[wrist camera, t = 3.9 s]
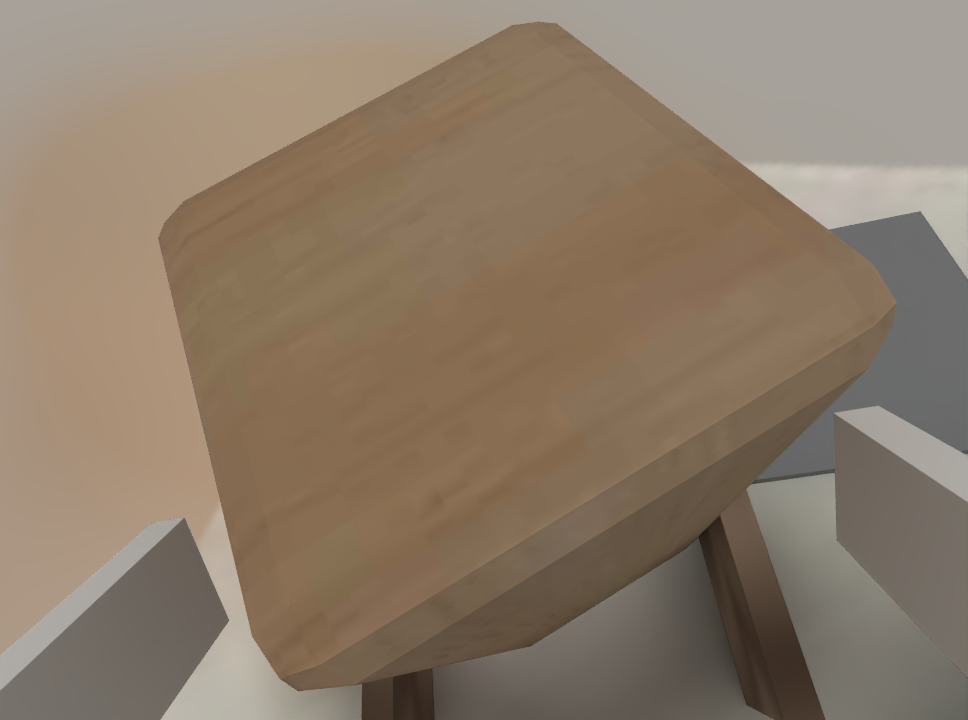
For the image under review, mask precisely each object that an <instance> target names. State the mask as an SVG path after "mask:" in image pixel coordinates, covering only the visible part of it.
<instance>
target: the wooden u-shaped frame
mask: <svg viewBox="0 0 968 720" xmlns="http://www.w3.org/2000/svg"><path fill="white" fill-rule="evenodd" d="M699 539H700V543H701V546H702V550H703V553H704V557H705V560H706V564H707V567H708V571H709V574H710V578H711V581H712V585H713V588H714V592H715V595H716V599H717V602H718V606H719V609H720V613H721V616H722V620H723V623H724V627H725V630H726V634H727V637H728V641H729V644H730V648H731V651H732V655H733V658H734V661H735V665H736V668H737V672H738V675H739V679H740V682H741V686H742V689H743V693H744V696H745V700H746V703H747V705H748V706H750V707H752V708H754V709H755V710H757V711H759V712H761V713H763V714H765V715H767V716H769V717H771V718H773V719H774V720H825V717H824V714H823V711H822V709H821V706H820V703H819V700H818V697H817V694H816V691H815V688H814V685H813V682H812V679H811V677H810V674H809V671H808V668H807V665H806V662H805V659H804V656H803V653H802V650H801V648H800V645H799V642H798V639H797V636H796V633H795V630H794V627H793V624H792V621H791V619H790V616H789V613H788V610H787V607H786V604H785V601H784V598H783V595H782V592H781V590H780V587H779V584H778V581H777V578H776V575H775V572H774V569H773V566H772V563H771V561H770V558H769V555H768V552H767V549H766V546H765V543H764V540H763V537H762V534H761V532H760V529H759V526H758V523H757V520H756V517H755V514H754V511H753V508H752V505H751V503H750V500H749V497H748V494H747V491H746V490H745V491H744V492H743V493H742V494H741V495H740V496H739V497H738V498H737V499H736V500H735V501H733V502H732V503H731V504H730V505H729V506H728V507H727V508H726V509H725V510H724V511H723V512H722V513H721V514H720V515H719V516H718V517H717V518H716V519H715V520H714V521H713V522H712V523H711V524H710V525H709V526H708V527H707V528H706V529H705V530H704V531H703V532H702V533H701V534H700V535H699ZM362 720H434V706H433V680H432V668H430V669H425V670H421V671H416V672H411V673H407V674H402V675H398V676H393V677H389V678H384V679H380V680H375V681H371V682H366V683H362Z"/></svg>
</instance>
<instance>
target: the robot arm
mask: <svg viewBox="0 0 968 720" xmlns="http://www.w3.org/2000/svg"><path fill="white" fill-rule="evenodd" d="M833 415H834V453H835V492H836V531H837V541H838V542H839V543H840V544H841V545H842V546H843V547H844V548H845V549H846V550H847V551H848V552H849V553H850V555H851V556H852V557H853V558H854V559H855V560H856V561H857V562H858V563H859V564H860V565H861V566H862V567H863V568H864V569H865V570H866V571H867V572H868V574H869V575H870V576H871V577H872V578H873V579H874V580H875V581H876V582H877V583H878V584H879V585H880V586H881V587H882V588H883V589H884V590H885V592H886V593H887V594H888V595H889V596H890V597H891V598H892V599H893V600H894V601H895V602H896V603H897V604H898V605H899V606H900V607H901V608H902V609H903V611H904V612H905V613H906V614H907V615H908V616H909V617H910V618H911V619H912V620H913V621H914V622H915V623H916V624H917V625H918V626H919V627H920V629H921V630H922V631H923V632H924V633H925V634H926V635H927V636H928V637H929V638H930V639H931V640H932V641H933V642H934V643H935V644H936V645H937V646H938V648H939V649H940V650H941V651H942V652H943V653H944V654H945V655H946V656H947V657H948V658H949V659H950V660H951V661H952V662H953V663H954V664H955V666H956V667H957V668H958V669H959V670H960V671H961V672H962V673H963V674H964V675H965V676H966V677H967V678H968V456H967V455H965V454H964V453H962V452H960V451H958V450H956V449H955V448H953V447H951V446H949V445H947V444H946V443H944V442H942V441H940V440H939V439H937V438H935V437H933V436H931V435H930V434H928V433H926V432H924V431H923V430H921V429H919V428H917V427H915V426H914V425H912V424H910V423H908V422H907V421H905V420H903V419H901V418H899V417H898V416H896V415H894V414H892V413H890V412H889V411H887V410H885V409H883V408H882V407H880V406H873V407H867V408H861V409H855V410H848V411H842V412H836V413H833ZM228 621H229V619H228V617H227V614H226V612H225V610H224V607H223V605H222V603H221V601H220V598H219V596H218V594H217V591H216V589H215V587H214V585H213V582H212V580H211V578H210V575H209V573H208V571H207V568H206V566H205V564H204V562H203V559H202V557H201V555H200V552H199V550H198V548H197V545H196V543H195V541H194V539H193V536H192V534H191V532H190V529H189V527H188V525H187V523H186V520H185V518H179V519H173V520H166V521H160V522H154V523H152V524H150V525H149V526H148V527H147V528H146V529H145V530H143V531H142V532H141V533H140V534H139V535H138V536H137V537H135V538H134V539H133V540H132V541H131V542H130V543H129V544H127V545H126V546H125V547H124V548H123V549H122V550H121V551H119V552H118V553H117V554H116V555H115V556H114V557H112V558H111V559H110V560H109V561H108V562H107V563H106V564H104V565H103V566H102V567H101V568H100V569H99V570H98V571H96V573H94V574H93V575H92V576H91V577H90V578H89V579H87V580H86V581H85V582H84V583H83V584H82V585H80V586H79V587H78V588H77V589H76V590H75V591H73V592H72V593H71V594H70V595H69V596H68V597H67V598H65V599H64V600H63V601H62V602H61V603H60V604H59V605H57V606H56V607H55V608H54V609H53V610H52V611H50V612H49V613H48V614H47V615H46V616H45V617H44V618H43V619H41V620H40V621H39V622H38V623H37V624H36V625H34V626H33V627H32V628H31V629H30V630H29V631H28V632H26V633H25V634H24V635H23V636H22V637H21V638H20V639H18V640H17V641H16V642H15V643H14V644H13V645H11V647H9V648H8V649H7V650H6V651H5V652H4V653H2V654H1V655H0V720H160V719H161V718H162V716H163V715H164V713H165V712H166V711H167V709H168V708H169V706H170V705H171V703H172V702H173V700H174V699H175V698H176V696H177V695H178V693H179V692H180V690H181V689H182V688H183V686H184V685H185V683H186V682H187V680H188V679H189V677H190V676H191V675H192V673H193V672H194V670H195V669H196V667H197V666H198V665H199V663H200V662H201V660H202V659H203V657H204V656H205V654H206V653H207V652H208V650H209V649H210V647H211V646H212V644H213V643H214V641H215V640H216V639H217V637H218V636H219V634H220V633H221V631H222V630H223V629H224V627H225V626H226V624H227V623H228Z"/></svg>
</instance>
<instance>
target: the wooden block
mask: <svg viewBox="0 0 968 720" xmlns="http://www.w3.org/2000/svg"><path fill="white" fill-rule="evenodd" d="M158 239H159V244H160V248H161V252H162V256H163V260H164V265H165V269H166V273H167V277H168V281H169V286H170V290H171V294H172V298H173V303H174V307H175V311H176V315H177V320H178V324H179V328H180V332H181V337H182V341H183V345H184V349H185V353H186V358H187V362H188V366H189V370H190V375H191V379H192V383H193V387H194V392H195V396H196V400H197V404H198V408H199V413H200V417H201V421H202V425H203V430H204V434H205V438H206V442H207V447H208V451H209V455H210V459H211V464H212V468H213V472H214V476H215V481H216V485H217V489H218V493H219V497H220V502H221V506H222V510H223V514H224V519H225V523H226V527H227V531H228V536H229V540H230V544H231V548H232V552H233V557H234V561H235V565H236V569H237V574H238V578H239V582H240V586H241V591H242V595H243V599H244V603H245V607H246V612H247V616H248V620H249V624H250V629H251V633H252V637H253V638H254V640H255V641H256V643H257V644H258V646H259V648H260V649H261V651H262V652H263V654H264V655H265V657H266V658H267V660H268V661H269V663H270V664H271V666H272V668H273V669H274V671H275V672H276V674H277V675H278V677H279V678H280V679H281V680H282V681H284V682H285V683H287V684H288V685H290V686H291V687H293V688H294V689H296V690H297V691H303V690H313V689H323V688H332V687H342V686H351V685H357V684H362V683H366V682H371V681H375V680H380V679H384V678H389V677H393V676H398V675H402V674H407V673H411V672H416V671H421V670H425V669H430V668H434V667H439V666H443V665H448V664H452V663H457V662H461V661H466V660H470V659H475V658H479V657H484V656H488V655H493V654H497V653H502V652H506V651H511V650H515V649H520V648H524V647H529V646H532V645H533V644H535V643H536V642H538V641H540V640H541V639H543V638H544V637H546V636H547V635H549V634H551V633H552V632H554V631H555V630H557V629H559V628H560V627H562V626H563V625H565V624H567V623H568V622H570V621H571V620H573V619H575V618H576V617H578V616H579V615H581V614H583V613H584V612H586V611H587V610H589V609H591V608H592V607H594V606H595V605H597V604H599V603H600V602H602V601H603V600H605V599H607V598H608V597H610V596H611V595H613V594H614V593H616V592H618V591H619V590H621V589H622V588H624V587H626V586H627V585H629V584H630V583H632V582H634V581H635V580H637V579H638V578H640V577H642V576H643V575H645V574H646V573H648V572H650V571H651V570H653V569H654V568H656V567H658V566H659V565H661V564H662V563H664V562H666V561H667V560H669V559H670V558H672V557H674V556H675V555H677V554H678V553H680V552H681V551H683V550H685V549H686V548H687V547H688V546H689V545H690V544H691V543H692V542H693V541H694V540H695V539H696V538H697V537H698V536H699V535H700V534H701V533H702V532H703V531H704V530H705V529H706V528H707V527H708V526H709V525H710V524H711V523H712V522H713V521H714V520H715V519H716V518H717V517H718V516H719V515H720V514H721V513H722V512H723V511H724V510H725V509H726V508H727V507H728V506H729V505H730V504H731V503H732V502H733V501H735V500H736V499H737V498H738V497H739V496H740V495H741V494H742V493H743V492H744V491H745V490H746V489H747V488H748V487H749V486H750V485H751V484H752V483H753V482H754V481H755V480H756V479H757V478H758V477H759V476H760V475H761V474H762V473H763V472H764V471H765V470H766V469H767V468H768V467H769V466H770V465H771V464H772V463H773V462H774V461H775V460H776V459H777V458H778V457H779V456H780V455H781V454H782V453H783V452H784V451H785V450H786V449H787V448H788V447H789V446H790V445H791V444H792V443H793V442H794V441H795V440H796V439H797V438H798V437H799V436H800V435H801V434H802V433H803V432H804V431H805V430H806V429H807V428H808V427H809V426H810V425H811V424H812V423H813V422H814V421H815V420H816V419H817V418H818V417H819V416H820V415H821V414H822V413H823V412H824V411H825V410H826V409H828V408H829V407H830V406H831V405H832V404H833V403H834V402H835V401H836V400H837V399H838V398H839V397H840V396H841V395H842V394H843V393H844V392H845V391H846V390H847V389H848V388H849V387H850V386H851V385H852V384H853V383H854V382H855V381H856V380H857V379H858V378H859V377H860V376H861V375H862V374H863V373H864V372H865V371H866V370H867V369H868V368H869V366H870V365H871V363H872V361H873V359H874V358H875V356H876V354H877V352H878V351H879V349H880V347H881V346H882V344H883V342H884V340H885V339H886V337H887V335H888V333H889V332H890V330H891V328H892V325H893V320H894V316H895V311H896V306H897V301H896V300H895V298H894V297H893V295H892V293H891V292H890V290H889V289H888V287H887V285H886V284H885V282H884V281H883V279H882V277H881V276H880V274H879V273H878V271H877V269H876V268H875V266H874V265H873V263H871V262H870V261H869V260H867V259H866V258H865V257H864V256H862V255H861V254H860V253H858V252H857V251H856V250H854V249H853V248H852V247H850V246H849V245H848V244H846V243H845V242H844V241H842V240H841V239H840V238H839V237H837V236H836V235H835V234H833V233H832V232H831V231H829V230H828V229H827V228H825V227H824V226H823V225H821V224H820V223H819V222H817V221H816V220H815V219H813V218H812V217H811V216H810V215H808V214H807V213H806V212H804V211H803V210H802V209H800V208H799V207H798V206H796V205H795V204H794V203H792V202H791V201H790V200H788V199H787V198H786V197H784V196H783V195H782V194H781V193H779V192H778V191H777V190H775V189H774V188H773V187H771V186H770V185H769V184H767V183H766V182H765V181H763V180H762V179H761V178H759V177H758V176H757V175H756V174H754V173H753V172H752V171H750V170H749V169H748V168H746V167H745V166H744V165H742V164H741V163H740V162H738V161H737V160H736V159H734V158H733V157H732V156H730V155H729V154H728V153H727V152H725V151H724V150H723V149H721V148H720V147H719V146H717V145H716V144H715V143H713V142H712V141H711V140H709V139H708V138H707V137H705V136H704V135H703V134H701V133H700V132H699V131H697V130H696V129H695V128H694V127H692V126H691V125H690V124H688V123H687V122H686V121H684V120H683V119H682V118H680V117H679V116H678V115H676V114H675V113H674V112H673V111H671V110H670V109H669V108H667V107H666V106H665V105H663V104H662V103H661V102H659V101H658V100H657V99H655V98H654V97H652V96H651V95H650V94H649V93H647V92H646V91H645V90H644V89H642V88H641V87H640V86H638V85H637V84H636V83H634V82H633V81H632V80H630V79H629V78H628V77H626V76H625V75H624V74H622V73H621V72H620V71H618V70H617V69H615V67H613V66H612V65H611V64H609V63H608V62H607V61H605V60H604V59H603V58H601V57H600V56H599V55H597V54H596V53H595V52H593V51H592V50H591V49H590V48H588V47H587V46H586V45H584V44H583V43H582V42H580V41H579V40H578V39H576V38H575V37H574V36H572V35H571V34H570V33H568V32H567V31H566V30H564V29H563V28H562V27H560V26H559V25H558V24H555V23H544V22H534V23H527V24H520V25H512V26H510V27H508V28H507V29H505V30H503V31H501V32H499V33H497V34H495V35H493V36H492V37H490V38H488V39H486V40H484V41H482V42H480V43H479V44H477V45H475V46H473V47H471V48H469V49H467V50H466V51H464V52H462V53H460V54H458V55H456V56H454V57H452V58H451V59H449V60H447V61H445V62H443V63H441V64H439V65H437V66H435V67H434V68H432V69H430V70H428V71H426V72H424V73H422V74H421V75H419V76H417V77H415V78H413V79H411V80H410V81H408V82H406V83H404V84H402V85H400V86H398V87H396V88H394V89H393V90H391V91H389V92H387V93H385V94H383V95H381V96H379V97H378V98H376V99H374V100H372V101H370V102H368V103H367V104H365V105H363V106H361V107H359V108H357V109H355V110H353V111H352V112H350V113H348V114H346V115H344V116H342V117H340V118H338V119H337V120H335V121H333V122H331V123H329V124H327V125H325V126H323V127H322V128H320V129H318V130H316V131H314V132H312V133H310V134H309V135H307V136H305V137H303V138H301V139H299V140H297V141H296V142H294V143H292V144H290V145H288V146H286V147H284V148H283V149H280V150H279V151H277V152H275V153H273V154H271V155H269V156H267V157H266V158H264V159H262V160H260V161H258V162H256V163H254V164H252V165H251V166H249V167H247V168H245V169H243V170H241V171H239V172H238V173H236V174H234V175H232V176H230V177H228V178H226V179H224V180H223V181H221V182H219V183H217V184H215V185H213V186H211V187H210V188H208V189H206V190H204V191H202V192H200V193H198V194H196V195H195V196H193V197H191V198H189V199H187V200H185V201H184V202H183V203H182V204H181V205H180V206H179V207H178V208H177V209H176V211H175V212H174V213H173V214H172V215H171V216H170V217H169V218H168V220H166V222H165V223H164V225H163V228H162V230H161V233H160V235H159V238H158Z"/></svg>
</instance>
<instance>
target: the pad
mask: <svg viewBox="0 0 968 720" xmlns="http://www.w3.org/2000/svg"><path fill="white" fill-rule="evenodd" d="M829 231H831V232H832V233H833V234H835V235H836V236H837V237H839V238H840V239H841V240H842V241H844V242H845V243H846V244H848V245H849V246H850V247H852V248H853V249H854V250H856V251H857V252H858V253H860V254H861V255H862V256H864V257H865V258H866V259H867V260H869V261H870V262H871V263H873V265H874V266H875V268H876V269H877V271H878V273H879V274H880V276H881V277H882V279H883V281H884V282H885V284H886V285H887V287H888V289H889V290H890V292H891V293H892V295H893V297H894V298H895V300H896V301H897V306H896V311H895V316H894V320H893V325H892V328H891V330H890V332H889V333H888V335H887V337H886V339H885V340H884V342H883V344H882V346H881V347H880V349H879V351H878V352H877V354H876V356H875V358H874V359H873V361H872V363H871V365H870V366H869V368H868V369H867V370H866V371H865V372H864V373H863V374H862V375H861V376H860V377H859V378H858V379H857V380H856V381H855V382H854V383H853V384H852V385H851V386H850V387H849V388H848V389H847V390H846V391H845V392H844V393H843V394H842V395H841V396H840V397H839V398H838V399H837V400H836V401H835V402H834V403H833V404H832V405H831V406H830V407H829V408H828V409H826V410H825V411H824V412H823V413H822V414H821V415H820V416H819V417H818V418H817V419H816V420H815V421H814V422H813V423H812V424H811V425H810V426H809V427H808V428H807V429H806V430H805V431H804V432H803V433H802V434H801V435H800V436H799V437H798V438H797V439H796V440H795V441H794V442H793V443H792V444H791V445H790V446H789V447H788V448H787V449H786V450H785V451H784V452H783V453H782V454H781V455H780V456H779V457H778V458H777V459H776V460H775V461H774V462H773V463H772V464H771V465H770V466H769V467H768V468H767V469H766V470H765V471H764V472H763V473H762V474H761V475H760V476H759V477H758V478H757V479H756V480H755V481H754V482H753V483H752V484H756V483H763V482H770V481H777V480H784V479H791V478H799V477H806V476H813V475H820V474H827V473H834V472H835V453H834V415H833V413H836V412H842V411H848V410H855V409H861V408H867V407H873V406H880V407H882V408H883V409H885V410H887V411H889V412H890V413H892V414H894V415H896V416H898V417H899V418H901V419H903V420H905V421H907V422H908V423H910V424H912V425H914V426H915V427H917V428H919V429H921V430H923V431H924V432H926V433H928V434H930V435H931V436H933V437H935V438H937V439H939V440H940V441H942V442H944V443H946V444H947V445H949V446H951V447H953V448H955V449H956V450H958V451H960V452H962V453H964V454H968V279H967V278H966V276H965V275H964V273H963V272H962V270H961V269H960V268H959V266H958V265H957V263H956V262H955V260H954V259H953V257H952V256H951V255H950V253H949V252H948V250H947V249H946V247H945V246H944V245H943V243H942V242H941V240H940V239H939V237H938V236H937V234H936V233H935V232H934V230H933V229H932V227H931V226H930V224H929V223H928V222H927V220H926V219H925V217H924V216H923V214H922V213H921V211H920V212H915V213H910V214H905V215H900V216H895V217H890V218H885V219H880V220H875V221H870V222H865V223H860V224H855V225H850V226H845V227H840V228H835V229H830V230H829Z"/></svg>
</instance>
